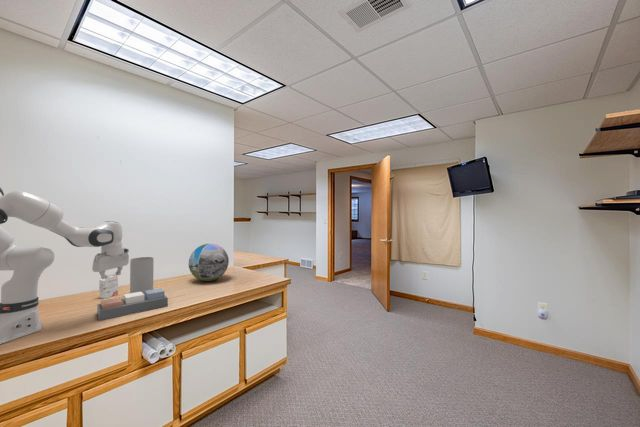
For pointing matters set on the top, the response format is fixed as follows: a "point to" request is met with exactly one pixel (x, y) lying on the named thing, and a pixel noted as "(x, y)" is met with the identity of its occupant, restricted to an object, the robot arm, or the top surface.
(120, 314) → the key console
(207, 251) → the grey textured ball
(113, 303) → the terracotta key
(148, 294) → the slate key
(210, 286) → the top surface
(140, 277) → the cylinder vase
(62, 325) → the top surface
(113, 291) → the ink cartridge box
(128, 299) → the white key
